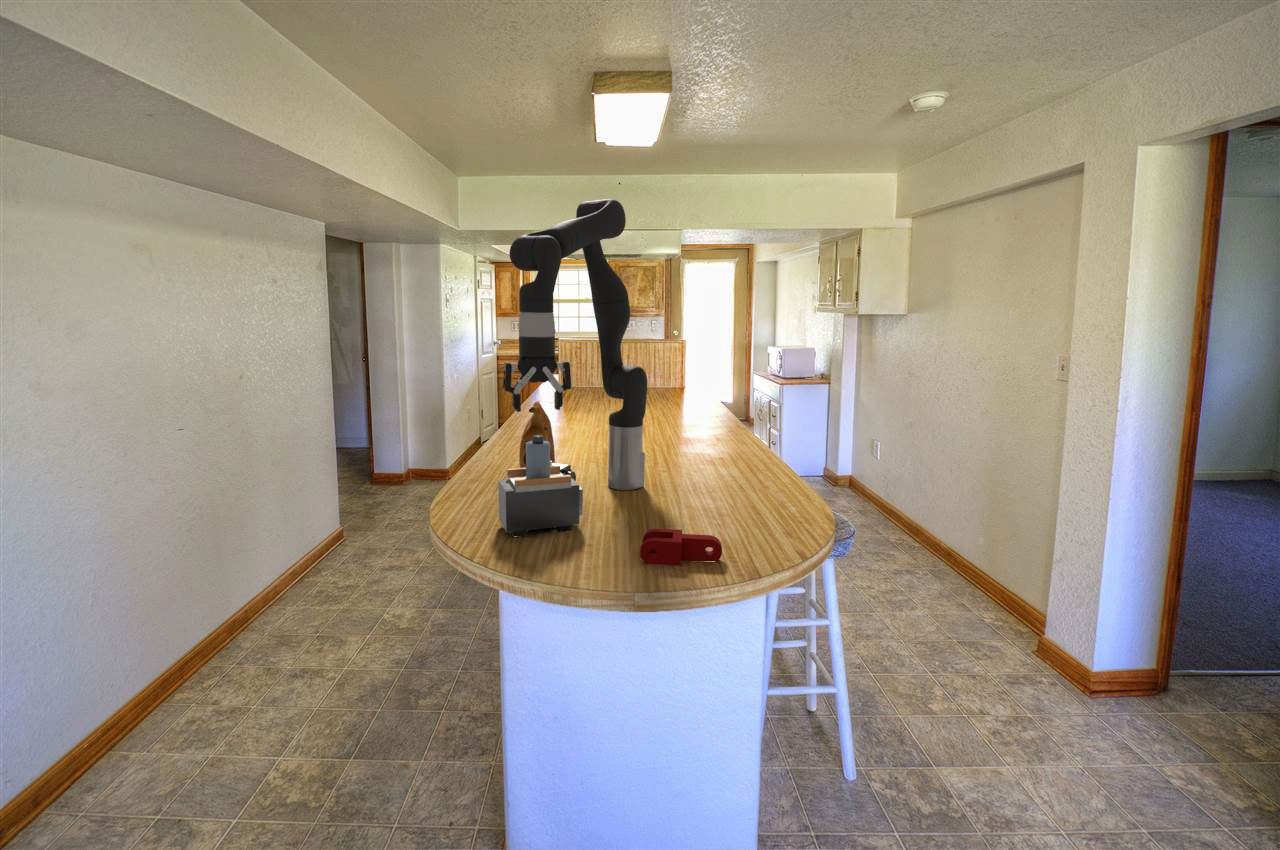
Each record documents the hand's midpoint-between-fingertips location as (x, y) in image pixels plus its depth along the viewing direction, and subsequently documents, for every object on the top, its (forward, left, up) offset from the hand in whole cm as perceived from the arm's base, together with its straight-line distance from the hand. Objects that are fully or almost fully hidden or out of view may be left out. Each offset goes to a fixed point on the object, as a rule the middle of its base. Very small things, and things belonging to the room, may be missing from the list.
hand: (537, 410), depth 141 cm
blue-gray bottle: (0, 0, -15) cm, 15 cm away
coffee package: (-8, -37, -27) cm, 46 cm away
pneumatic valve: (-6, -13, -27) cm, 30 cm away
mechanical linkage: (-23, +26, -27) cm, 44 cm away
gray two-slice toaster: (0, 0, -27) cm, 27 cm away
